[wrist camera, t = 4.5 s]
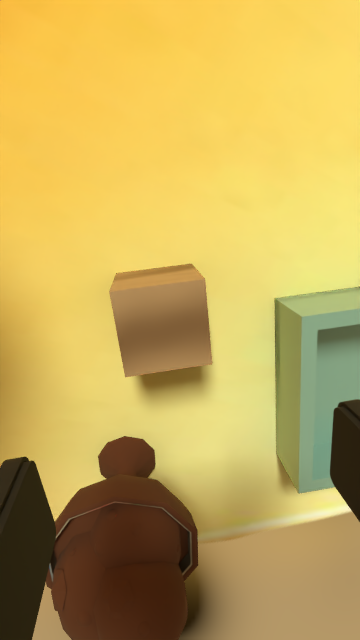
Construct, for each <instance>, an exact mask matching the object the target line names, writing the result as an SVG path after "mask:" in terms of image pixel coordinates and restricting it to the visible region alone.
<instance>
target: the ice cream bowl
mask: <svg viewBox="0 0 360 640" xmlns="http://www.w3.org/2000/svg"><path fill="white" fill-rule="evenodd" d="M98 458H99V466H100V472H101V475H103V476H104V477H105V478H106V480H103V481H100V482H98V483H95V484H92V485H90V486H87V487H84V488H82V489H80V490H79V491H78V492H77V493H76V494H75V495H74V497H73V498H72V499H71V500H70V502H69V503H68V504H67V506H66V507H65V509H64V510H63V511H62V513H61V514H60V516H59V517H58V518H57V520H56V521H55V525H56V539H55V544H54V548H53V552H52V556H51V561H50V565H49V569H48V573H47V578H46V584H47V587H49V588H51V589H52V591H51V593H52V599H53V604H54V609H55V610H56V611H58V614H59V617H60V620H61V624H62V627H63V629H64V631H65V632H66V633H67V634H68V635H69V637H70V638H71V639H72V640H178V639H179V636H180V634H181V632H182V630H183V628H184V626H185V624H186V622H187V613H188V612H187V611H188V605H187V598H186V590H185V583H184V581H185V580H186V578H187V577H188V576H189V575H190V574H191V573H192V571H193V570H194V569H195V568H196V567H197V566H198V540H197V528H196V526H195V523H194V521H193V518H192V516H191V513H190V512H189V511H188V510H187V508H186V507H185V506H184V505H183V503H182V502H181V501H180V500H179V499H178V498H176V497H175V496H174V495H173V494H172V493H171V492H170V491H169V490H168V489H166V488H165V487H164V486H163V485H162V484H161V483H160V482H159V481H158V480H154V479H149V478H147V477H148V476H149V474H150V473H151V472H152V470H153V469H154V467H155V453H154V449H153V448H152V447H150V446H149V445H148V444H147V443H146V442H145V441H144V440H143V439H138V438H132V437H126V436H124V437H121V438H119V439H116V440H113V441H111V442H108V443H107V444H106V446H105V447H104V448H103V450H102V451H101V453H100V454H99V456H98Z"/></svg>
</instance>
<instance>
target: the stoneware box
mask: <svg viewBox="0 0 360 640" xmlns="http://www.w3.org/2000/svg"><path fill="white" fill-rule="evenodd" d="M275 359H276V453H277V455H278V457H279V459H280V461H281V463H282V464H283V466H284V468H285V470H286V472H287V473H288V475H289V477H290V479H291V481H292V482H293V484H294V486H295V488H296V490H297V492H298V493H305V492H310V491H316V490H321V489H327V488H332V487H335V486H334V484H333V483H332V480H331V477H330V460H331V444H332V428H333V412H334V409H335V408H337V407H338V404H339V403H340V402H343V401H349V400H355V399H359V400H360V287H355V288H347V289H340V290H333V291H325V292H318V293H311V294H303V295H296V296H289V297H281V298H275Z"/></svg>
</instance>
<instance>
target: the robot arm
mask: <svg viewBox="0 0 360 640" xmlns="http://www.w3.org/2000/svg"><path fill="white" fill-rule="evenodd" d="M330 477H331V480H332V483H333V484H334V486H335V487H336V489H337V490H338V492H339V493H340V494H341V496H342V497H343V499H344V500H345V502H346V503H347V504H348V506H349V507H350V509H351V510H352V511H353V513H354V514H355V516H356V517H357V519H358V520H359V521H360V400H359V399H355V400H349V401H343V402H340V403H339V404H338V407H337V408H335V409H334V412H333V428H332V444H331V460H330ZM55 539H56V525H55V522H54V519H53V516H52V513H51V510H50V507H49V504H48V501H47V498H46V495H45V492H44V488H43V485H42V482H41V479H40V476H39V473H38V470H37V467H36V464H35V462H34V461H29V460H28V458H27V457H21V458H15V459H9V460H5V461H4V462H3V463H2V465H1V467H0V640H32V637H33V632H34V628H35V624H36V619H37V615H38V611H39V607H40V602H41V598H42V594H43V590H44V586H45V582H46V578H47V573H48V569H49V565H50V561H51V556H52V552H53V548H54V544H55Z"/></svg>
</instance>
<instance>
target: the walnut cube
mask: <svg viewBox="0 0 360 640" xmlns="http://www.w3.org/2000/svg"><path fill="white" fill-rule="evenodd" d="M109 292H110V297H111V303H112V308H113V314H114V319H115V324H116V330H117V335H118V341H119V346H120V351H121V357H122V362H123V368H124V373H125V377H129V376H136V375H143V374H150V373H156V372H163V371H170V370H176V369H183V368H190V367H196V366H203V365H210V364H212V356H211V344H210V332H209V320H208V308H207V296H206V284H205V278H204V277H203V276H202V275H201V274H200V273H199V272H198V270H197V269H196V268H195V267H194V266H193V265H192V264H185V265H178V266H170V267H162V268H154V269H146V270H139V271H131V272H123V273H116V275H115V278H114V281H113V283H112V286H111V289H110V291H109Z"/></svg>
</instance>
